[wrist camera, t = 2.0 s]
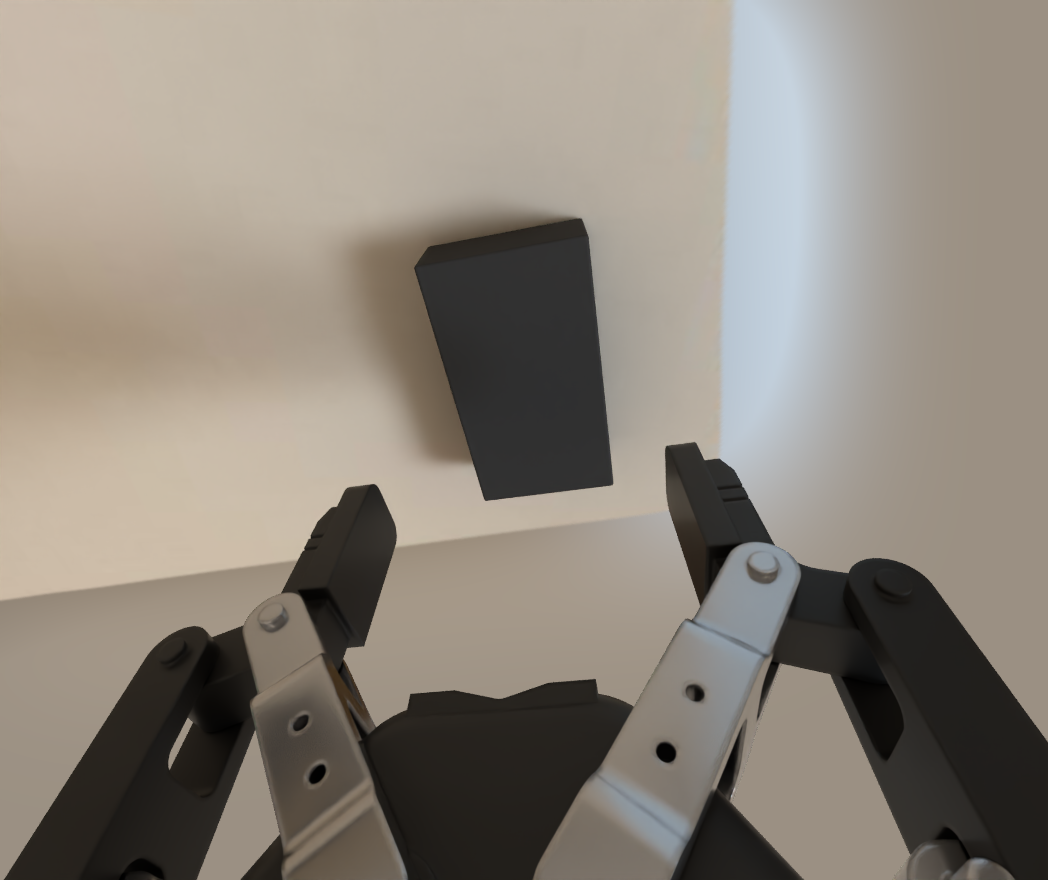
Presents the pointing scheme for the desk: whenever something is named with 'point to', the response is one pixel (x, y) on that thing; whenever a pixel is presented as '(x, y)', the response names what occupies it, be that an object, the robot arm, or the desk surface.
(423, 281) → the black pad
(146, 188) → the desk surface
